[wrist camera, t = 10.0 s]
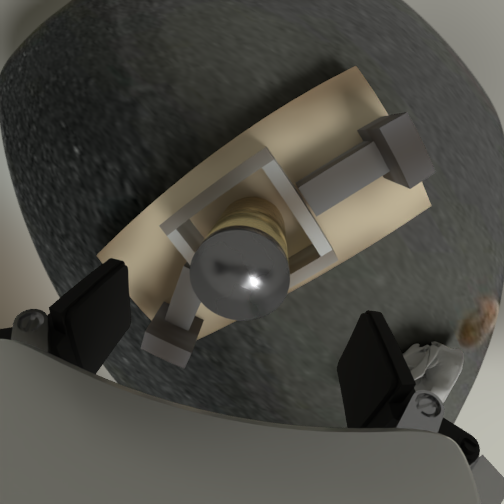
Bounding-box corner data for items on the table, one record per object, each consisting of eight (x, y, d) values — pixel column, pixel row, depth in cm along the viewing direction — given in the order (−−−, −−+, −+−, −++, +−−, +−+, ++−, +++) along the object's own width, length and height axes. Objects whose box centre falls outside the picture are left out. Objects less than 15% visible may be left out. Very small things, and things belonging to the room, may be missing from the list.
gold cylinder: (298, 237, 18) (309, 291, 12) (245, 270, 19) (230, 334, 13) (259, 183, 17) (249, 210, 11) (206, 221, 18) (170, 267, 12)
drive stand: (419, 199, 18) (461, 222, 13) (184, 335, 25) (165, 380, 19) (348, 72, 15) (376, 48, 10) (108, 246, 22) (68, 277, 16)
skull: (461, 374, 22) (414, 461, 17) (403, 356, 29) (350, 430, 24) (473, 331, 19) (424, 438, 14) (402, 314, 26) (341, 400, 21)
